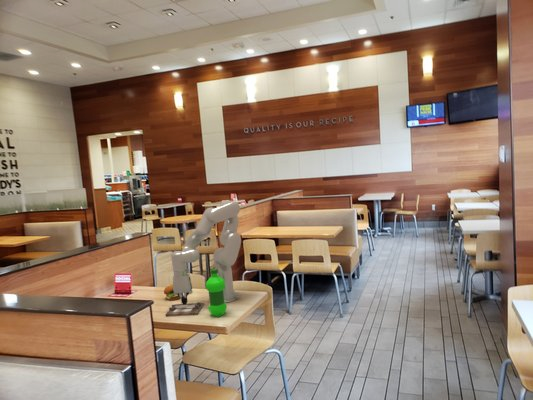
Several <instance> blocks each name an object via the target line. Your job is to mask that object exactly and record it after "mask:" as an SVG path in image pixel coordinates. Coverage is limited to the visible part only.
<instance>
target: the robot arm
mask: <svg viewBox="0 0 533 400" xmlns="http://www.w3.org/2000/svg"><path fill="white" fill-rule="evenodd" d="M240 211H241V206H240V205H239V203H238V202H236V201H233V200H224V201H222V202H221V203H220V205H219V206H218V207H208V208H206V209H205V210H204V211H203V213H202V216H201V218H200V220H199V222H198V224H197V225H196V228H195V229H194V231H193V232H192V233H191V235H190V236H189V237H188V238H187V240H186V241H185V243H184V245H183V247H182V249H181V250H176V251H173V252H172V253H170V257H171V265H172V270H173V271H172V272H173V276H172V284H173V291H174V295H178V296H179V297H180V298H179V299H181V300H180V302H181V304H183V305H186V304H188V301H189V300H188V296H189V295H191V294H193V293H194V292H193V284H192V280H191V276H190V274H189V273H190V270H189V269H188V268H187V264H188V263H195V262H198V261H199V259H200V255H201V254H200V253H199V250H198V249H197V247H198V246H199V244H200V243H201V242H202V241H203V240H205V239H206V238H208V237H209V235H210V234H211V232H212V230H213V228H214V226H215V224H218V223H220V222H223V221H224V223H223V227H222V231H221V233H220V237H219V242H220V244H221V245H222V246H224V247H219V248H217V249H215V250H214V252H213V257H212V259H213V263H214V264H213V265H214V267H215V268H214V269H218V273H217V275H218V276H219V277H221V278H222V279H224V281H225V287H224V289H223V292H224V302H225V303H226V304H227V303H231V302H234V301H235V300H237V297H241V296H242V293H241V292H240V291H239V292H236V290H235V289H234V282H233V269H232V266H234V265H235V263H236V261H237V258H238V256H239V252H240V248H241V245H242V238H241V235H240V234H239V233H238V232H237V231H238V229H239V228H238V227H239V216H238V215H239V213H240Z"/></svg>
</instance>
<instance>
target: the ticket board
mask: <svg viewBox="0 0 533 400" xmlns="http://www.w3.org/2000/svg"><path fill="white" fill-rule="evenodd" d="M193 305H195V308H174V307H172V306H193ZM204 306H205V302H200V301H198V302H191V303H187V304H186V305H183V303H175V304H171V307H169V308H168V310H167V312H166V313H165V314H164V315H165V318H166V317H184V316H198V314H199V313H200V312H201V310H202V309H203V307H204Z"/></svg>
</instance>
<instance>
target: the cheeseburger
mask: <svg viewBox="0 0 533 400" xmlns="http://www.w3.org/2000/svg"><path fill="white" fill-rule="evenodd" d="M163 294H164V295H165V296H166V299H167V300H168V301H174V300H179V299H181V298H180V297H179V296H178V295H174V291H173V283H172V284H170V285H169V286H166V287H165V288H164V289H163Z"/></svg>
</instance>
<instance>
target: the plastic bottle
mask: <svg viewBox="0 0 533 400" xmlns="http://www.w3.org/2000/svg"><path fill="white" fill-rule="evenodd" d="M209 272H210V273H209V274H210V277H209V278H208V279H207V281H206V282H205V289H206V291H207V292H208V297H209V306H208V311H209V313H210V314H211V315H213V316H214V317H221V316H223V315H224V314H225V312H226V311H227V307H228V306H227V303H225V302H224V292H223V289H224V287H225V281H224V279H222V278H221V277H219V276H218V275H217V273H218V269H215V268H211V269H210V270H209Z"/></svg>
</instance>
